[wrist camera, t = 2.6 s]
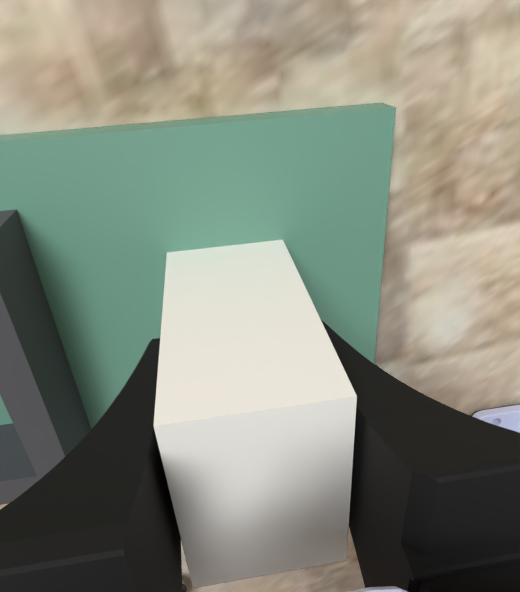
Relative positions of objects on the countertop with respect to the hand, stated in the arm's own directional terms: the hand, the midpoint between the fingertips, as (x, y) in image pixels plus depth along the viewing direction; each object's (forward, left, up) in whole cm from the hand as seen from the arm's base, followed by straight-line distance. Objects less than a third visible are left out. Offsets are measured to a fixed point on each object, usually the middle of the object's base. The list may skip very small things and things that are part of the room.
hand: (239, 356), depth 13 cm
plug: (0, 0, -2) cm, 2 cm away
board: (+5, 0, -3) cm, 6 cm away
